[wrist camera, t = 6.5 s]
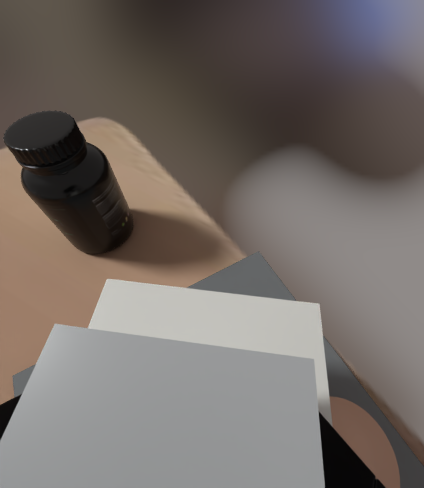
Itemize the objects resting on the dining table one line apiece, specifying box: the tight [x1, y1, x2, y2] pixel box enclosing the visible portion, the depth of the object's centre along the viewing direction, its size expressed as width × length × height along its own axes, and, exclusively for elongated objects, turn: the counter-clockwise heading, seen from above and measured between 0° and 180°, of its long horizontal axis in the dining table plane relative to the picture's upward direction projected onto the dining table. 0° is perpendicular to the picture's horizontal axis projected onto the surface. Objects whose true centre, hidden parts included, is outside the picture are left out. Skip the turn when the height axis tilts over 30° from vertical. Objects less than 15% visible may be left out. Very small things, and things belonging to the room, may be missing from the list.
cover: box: [0, 279, 333, 488], centre depth 8 cm, size 10×10×10 cm
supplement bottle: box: [3, 111, 133, 254], centre depth 23 cm, size 7×7×12 cm
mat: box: [13, 252, 424, 488], centre depth 17 cm, size 21×23×1 cm
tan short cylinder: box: [329, 396, 400, 488], centre depth 15 cm, size 6×6×3 cm
